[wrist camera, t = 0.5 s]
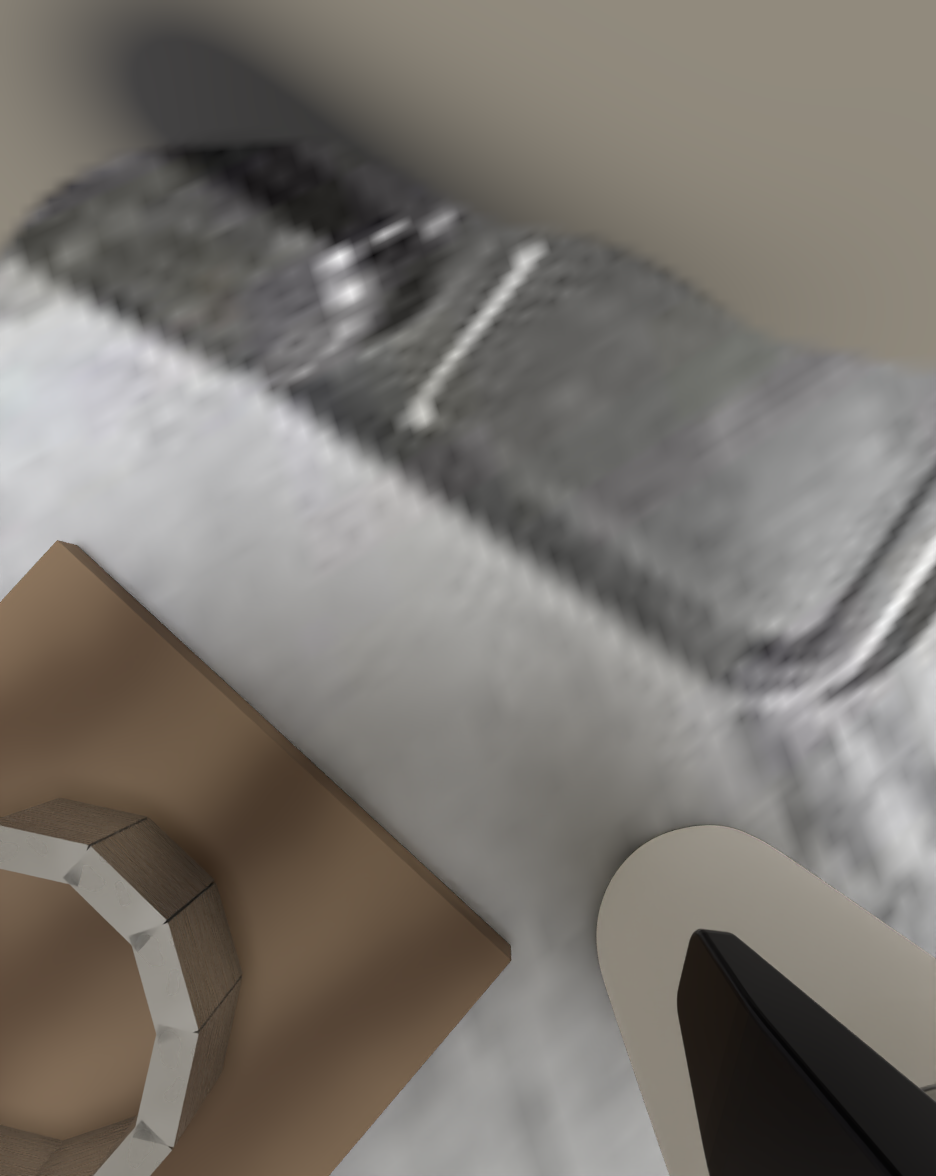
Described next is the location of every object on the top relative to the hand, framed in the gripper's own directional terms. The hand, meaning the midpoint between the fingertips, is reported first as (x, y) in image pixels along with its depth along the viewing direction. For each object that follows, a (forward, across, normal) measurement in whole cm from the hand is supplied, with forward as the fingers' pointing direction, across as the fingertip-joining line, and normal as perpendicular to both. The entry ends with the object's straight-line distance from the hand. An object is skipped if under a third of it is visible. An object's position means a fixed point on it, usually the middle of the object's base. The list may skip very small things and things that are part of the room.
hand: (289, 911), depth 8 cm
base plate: (+11, +8, +12) cm, 18 cm away
